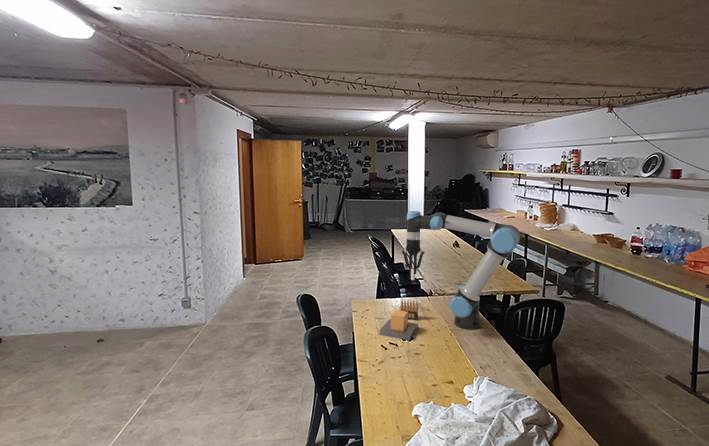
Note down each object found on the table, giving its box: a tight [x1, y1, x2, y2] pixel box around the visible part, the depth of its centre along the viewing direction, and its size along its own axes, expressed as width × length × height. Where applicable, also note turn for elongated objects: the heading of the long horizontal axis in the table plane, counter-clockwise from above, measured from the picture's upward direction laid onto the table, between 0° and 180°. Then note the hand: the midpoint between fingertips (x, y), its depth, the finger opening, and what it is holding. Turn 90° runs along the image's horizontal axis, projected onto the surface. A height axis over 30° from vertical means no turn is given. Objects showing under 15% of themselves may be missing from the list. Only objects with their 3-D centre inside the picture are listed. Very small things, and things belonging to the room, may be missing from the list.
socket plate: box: [378, 318, 419, 341], centre depth 216 cm, size 17×17×2 cm
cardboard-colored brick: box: [390, 309, 409, 332], centre depth 216 cm, size 7×8×10 cm
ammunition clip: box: [399, 298, 419, 321], centre depth 233 cm, size 11×2×12 cm, turn 71°
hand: (412, 279), depth 224 cm, fingers closed
